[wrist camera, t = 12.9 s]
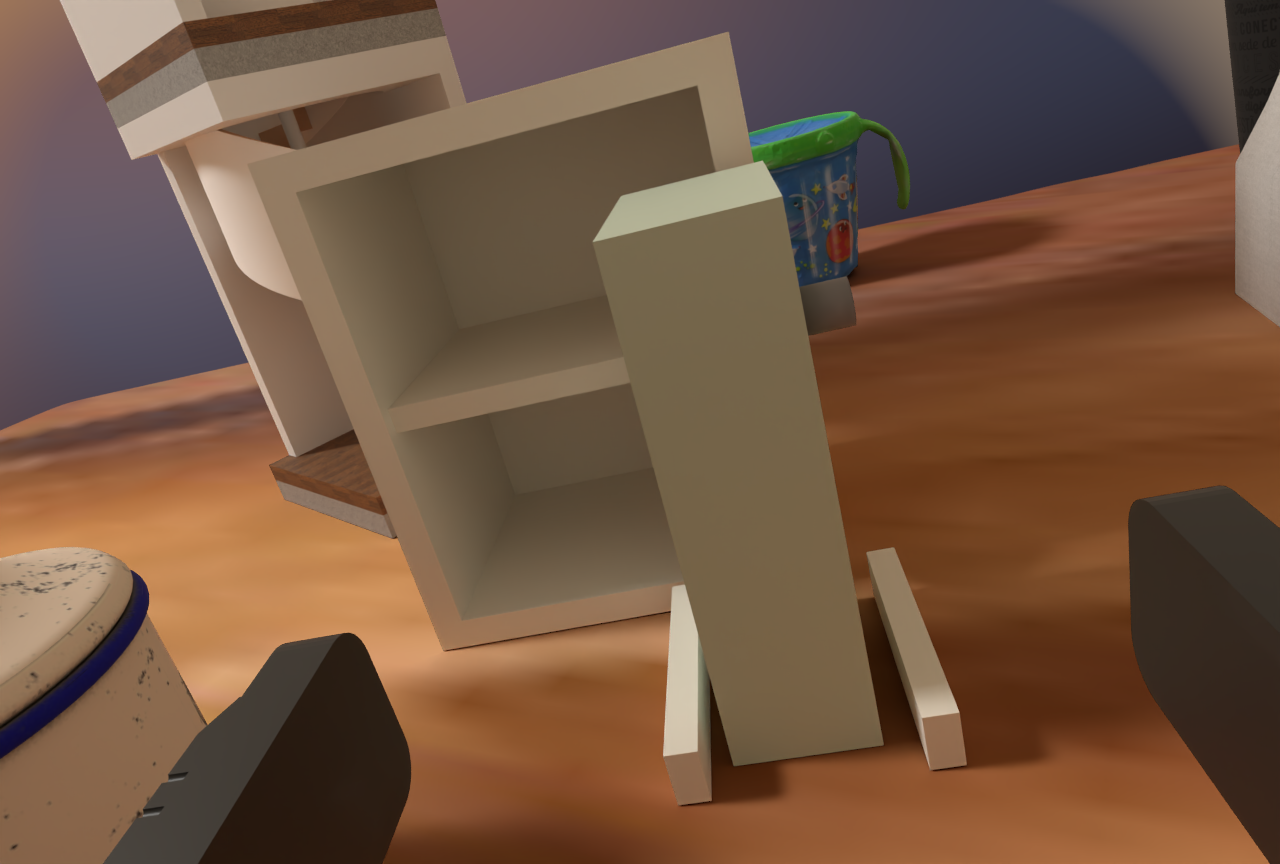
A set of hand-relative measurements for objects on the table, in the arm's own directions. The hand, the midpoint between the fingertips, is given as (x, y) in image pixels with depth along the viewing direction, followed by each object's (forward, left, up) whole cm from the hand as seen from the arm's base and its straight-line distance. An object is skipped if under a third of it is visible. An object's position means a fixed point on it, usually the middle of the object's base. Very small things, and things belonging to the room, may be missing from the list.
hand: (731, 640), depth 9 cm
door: (0, +12, -10) cm, 16 cm away
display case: (-17, +33, -10) cm, 39 cm away
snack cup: (+5, +53, -10) cm, 54 cm away
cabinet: (-4, +17, -10) cm, 20 cm away
